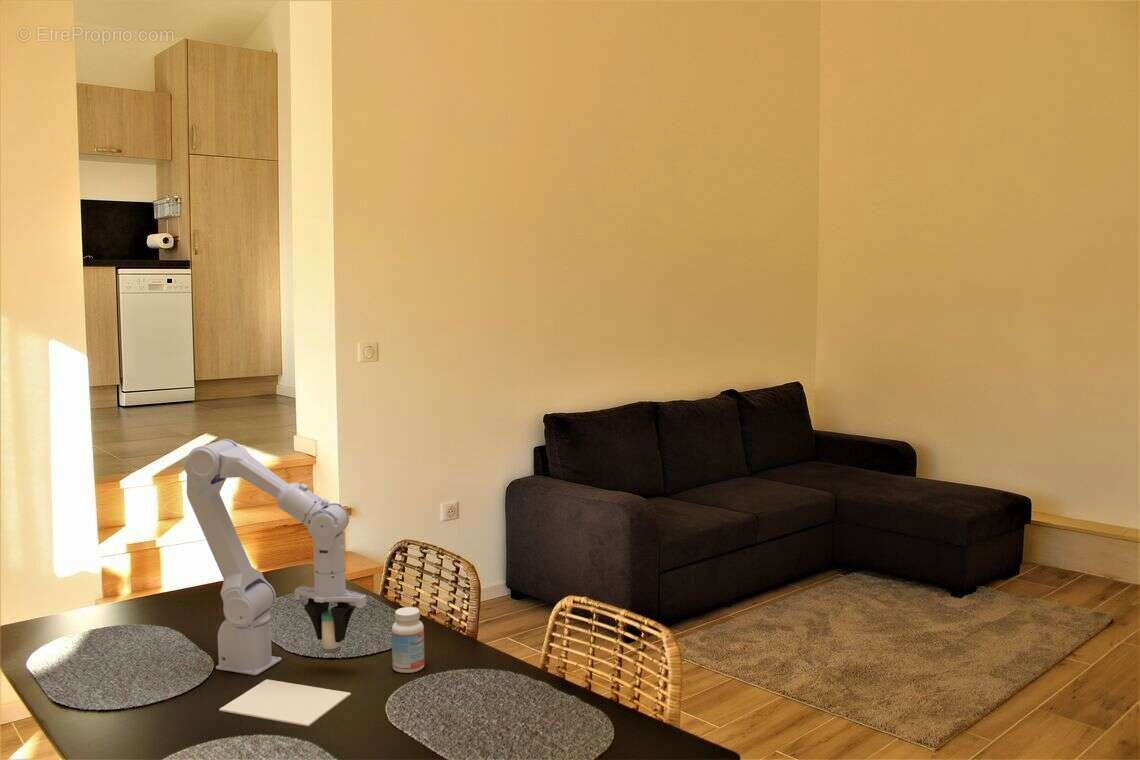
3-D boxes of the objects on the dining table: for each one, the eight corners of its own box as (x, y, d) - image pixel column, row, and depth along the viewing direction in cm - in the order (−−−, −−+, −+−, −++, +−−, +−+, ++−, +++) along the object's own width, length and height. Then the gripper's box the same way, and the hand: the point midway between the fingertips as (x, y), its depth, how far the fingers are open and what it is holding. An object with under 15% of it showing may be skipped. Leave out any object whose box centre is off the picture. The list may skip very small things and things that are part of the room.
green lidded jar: (318, 651, 179) (317, 614, 178) (328, 645, 182) (327, 608, 182) (334, 654, 178) (333, 617, 177) (344, 647, 181) (343, 611, 180)
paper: (219, 710, 164) (219, 709, 164) (266, 680, 176) (266, 679, 176) (308, 726, 158) (308, 724, 158) (350, 694, 170) (350, 692, 170)
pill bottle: (418, 675, 178) (416, 617, 177) (387, 672, 180) (386, 615, 178) (429, 662, 184) (428, 606, 183) (399, 660, 185) (398, 604, 184)
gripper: (284, 571, 177) (285, 641, 178) (351, 580, 172) (352, 652, 174) (306, 561, 184) (307, 628, 185) (371, 569, 179) (373, 638, 180)
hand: (331, 639), depth 180 cm, fingers closed on green lidded jar, 3 cm apart
